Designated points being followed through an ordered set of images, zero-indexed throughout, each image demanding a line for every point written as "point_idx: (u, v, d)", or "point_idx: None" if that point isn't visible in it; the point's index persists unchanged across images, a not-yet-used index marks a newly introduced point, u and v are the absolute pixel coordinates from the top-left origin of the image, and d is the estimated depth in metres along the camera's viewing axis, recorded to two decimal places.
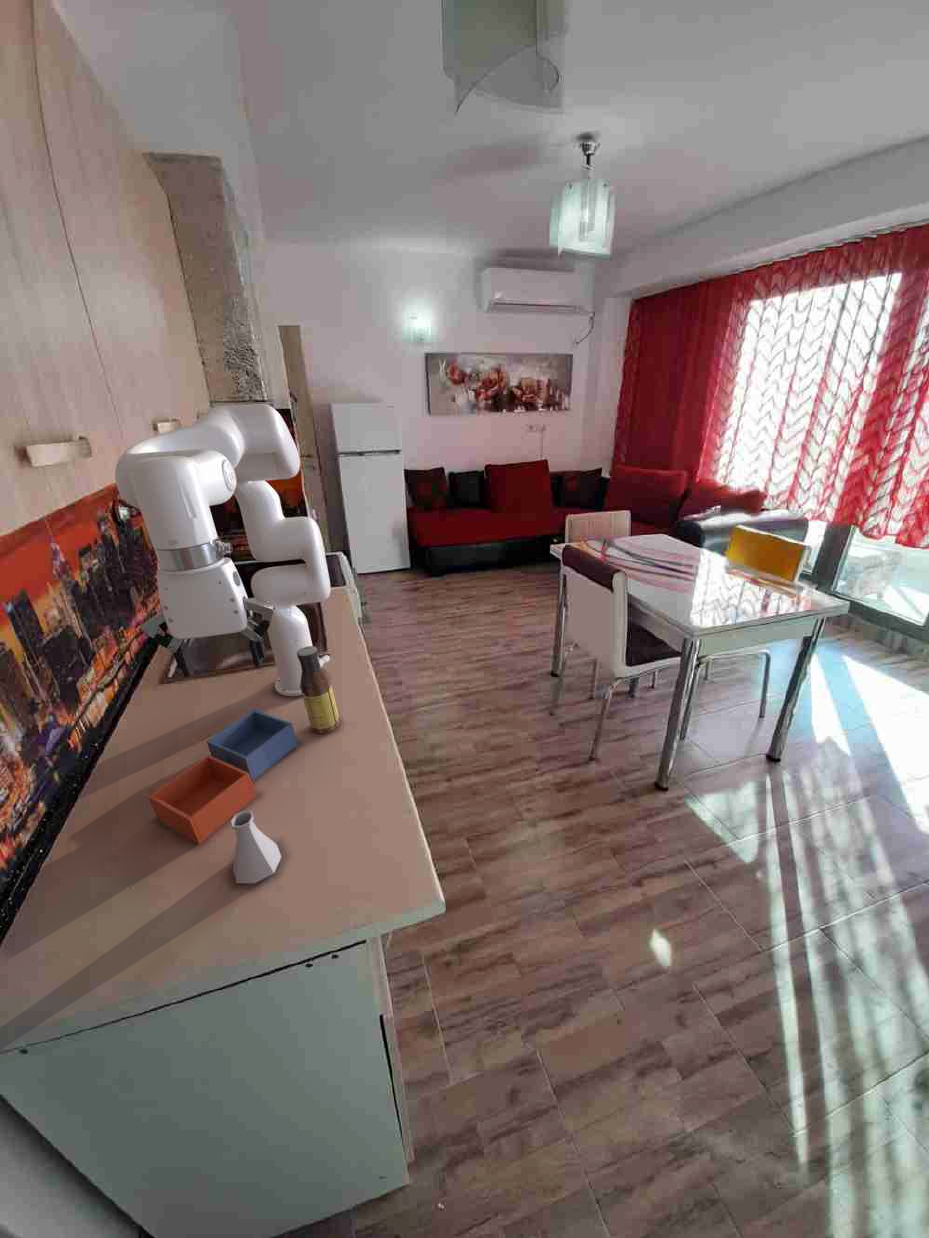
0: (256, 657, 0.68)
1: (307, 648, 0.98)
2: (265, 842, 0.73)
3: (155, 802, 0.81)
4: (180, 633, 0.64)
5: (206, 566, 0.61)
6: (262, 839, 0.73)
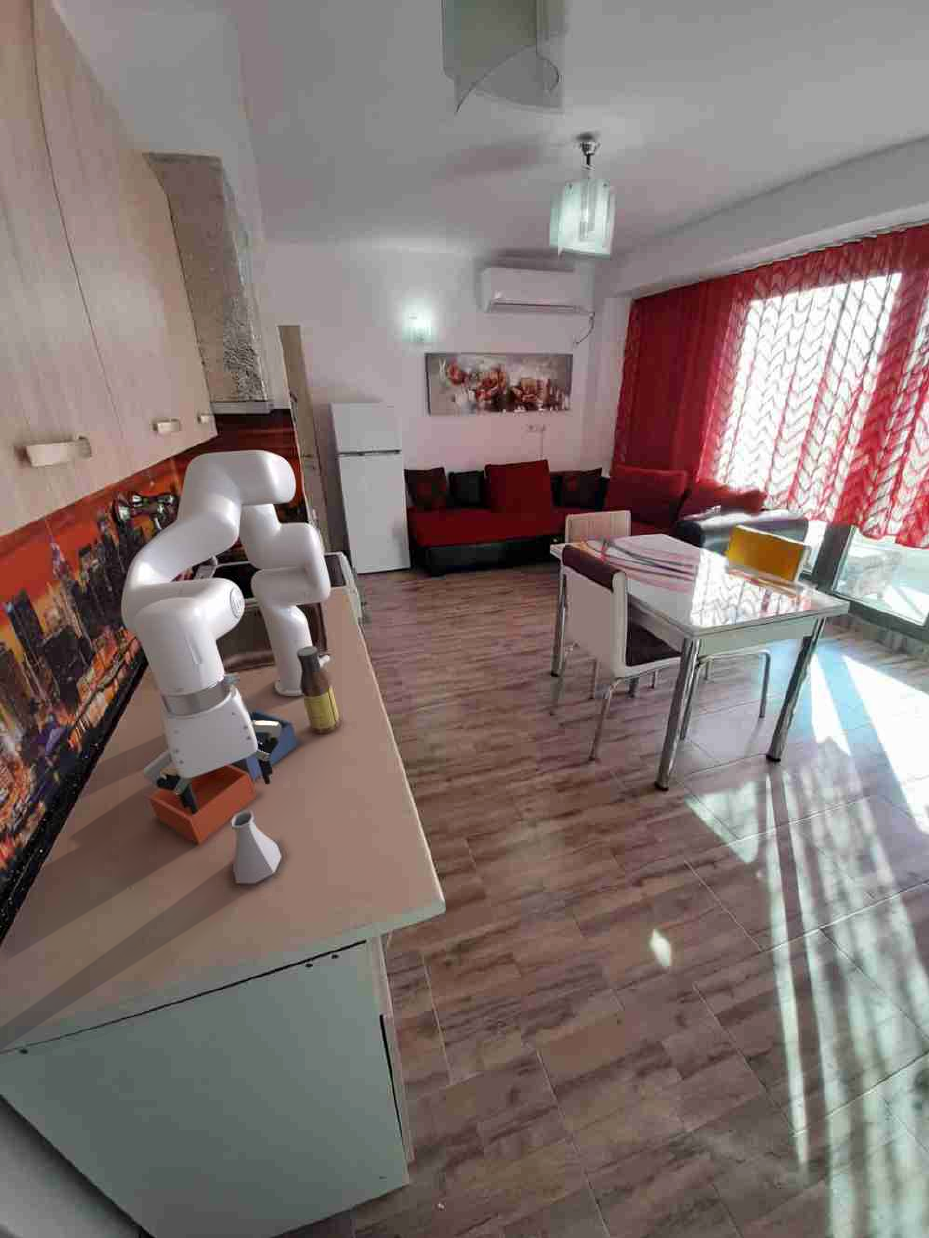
0: (267, 775, 0.68)
1: (307, 648, 0.98)
2: (265, 842, 0.73)
3: (155, 802, 0.81)
4: (190, 772, 0.62)
5: (222, 701, 0.60)
6: (262, 839, 0.73)
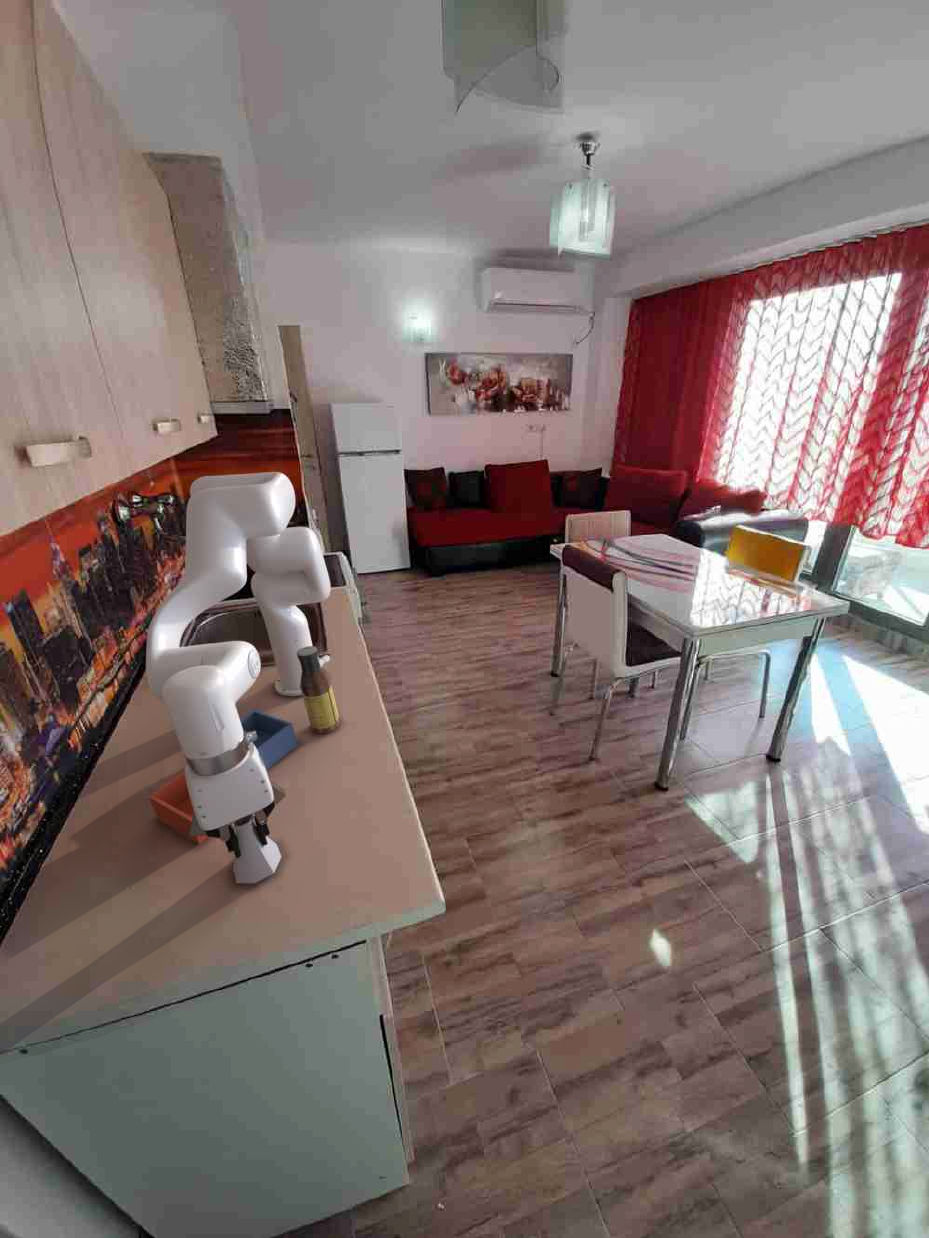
0: (264, 837, 0.72)
1: (307, 648, 0.98)
2: None
3: (155, 802, 0.81)
4: (212, 825, 0.66)
5: (241, 761, 0.65)
6: None
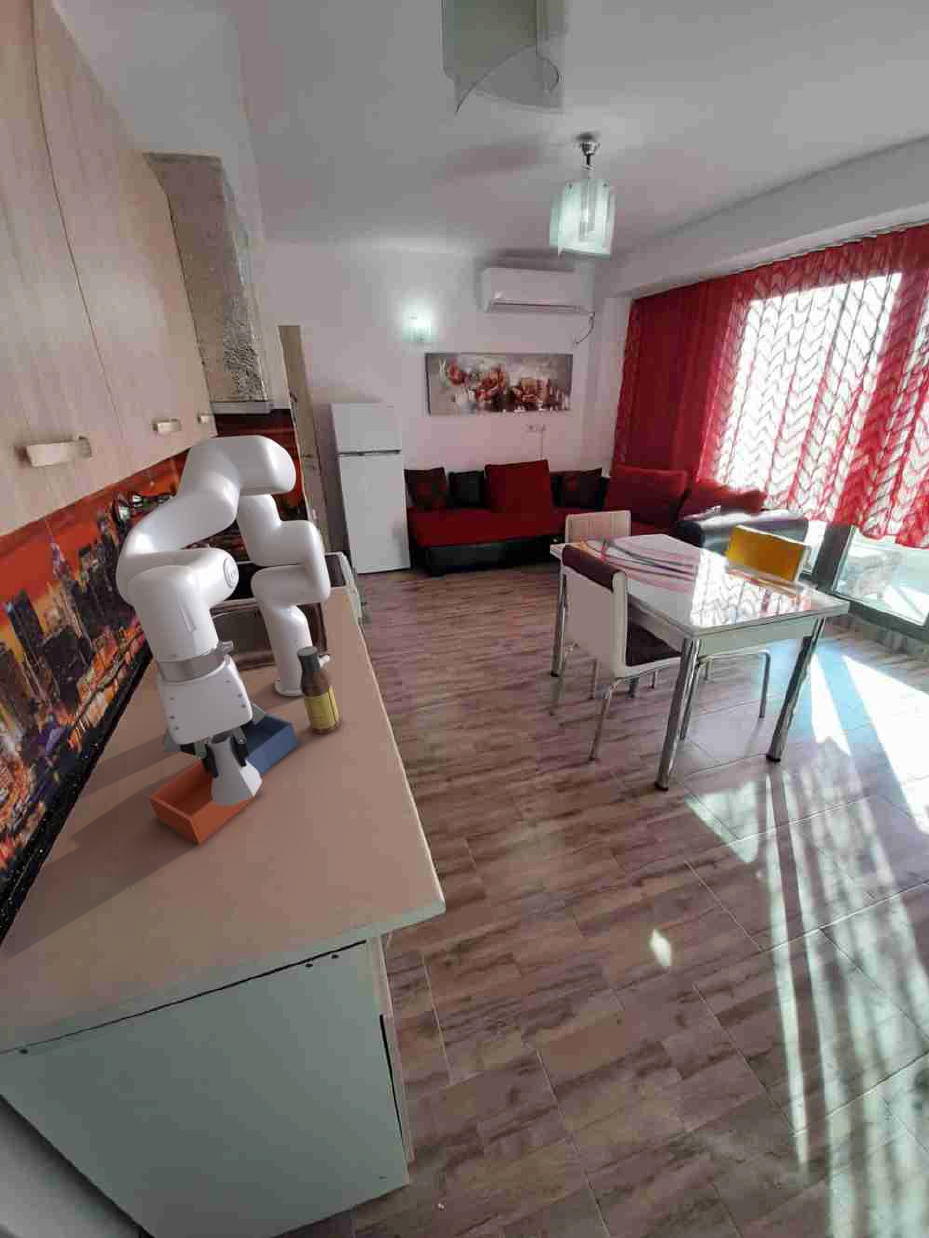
0: (243, 758, 0.69)
1: (307, 648, 0.98)
2: None
3: (155, 802, 0.81)
4: (186, 739, 0.63)
5: (216, 669, 0.61)
6: None
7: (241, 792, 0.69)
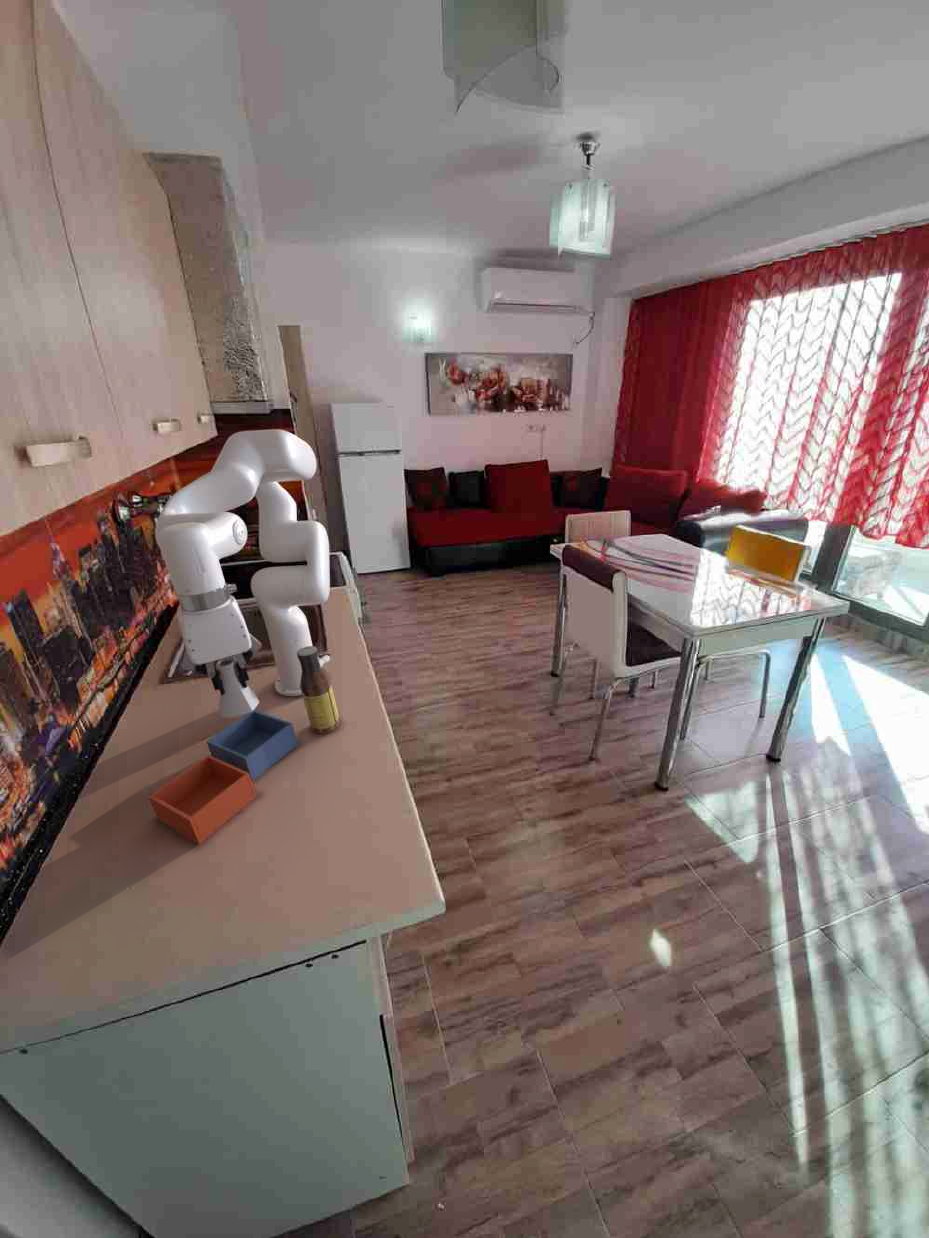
0: (244, 680, 0.87)
1: (307, 648, 0.98)
2: None
3: (155, 802, 0.81)
4: (200, 659, 0.81)
5: (223, 604, 0.79)
6: None
7: (242, 707, 0.87)
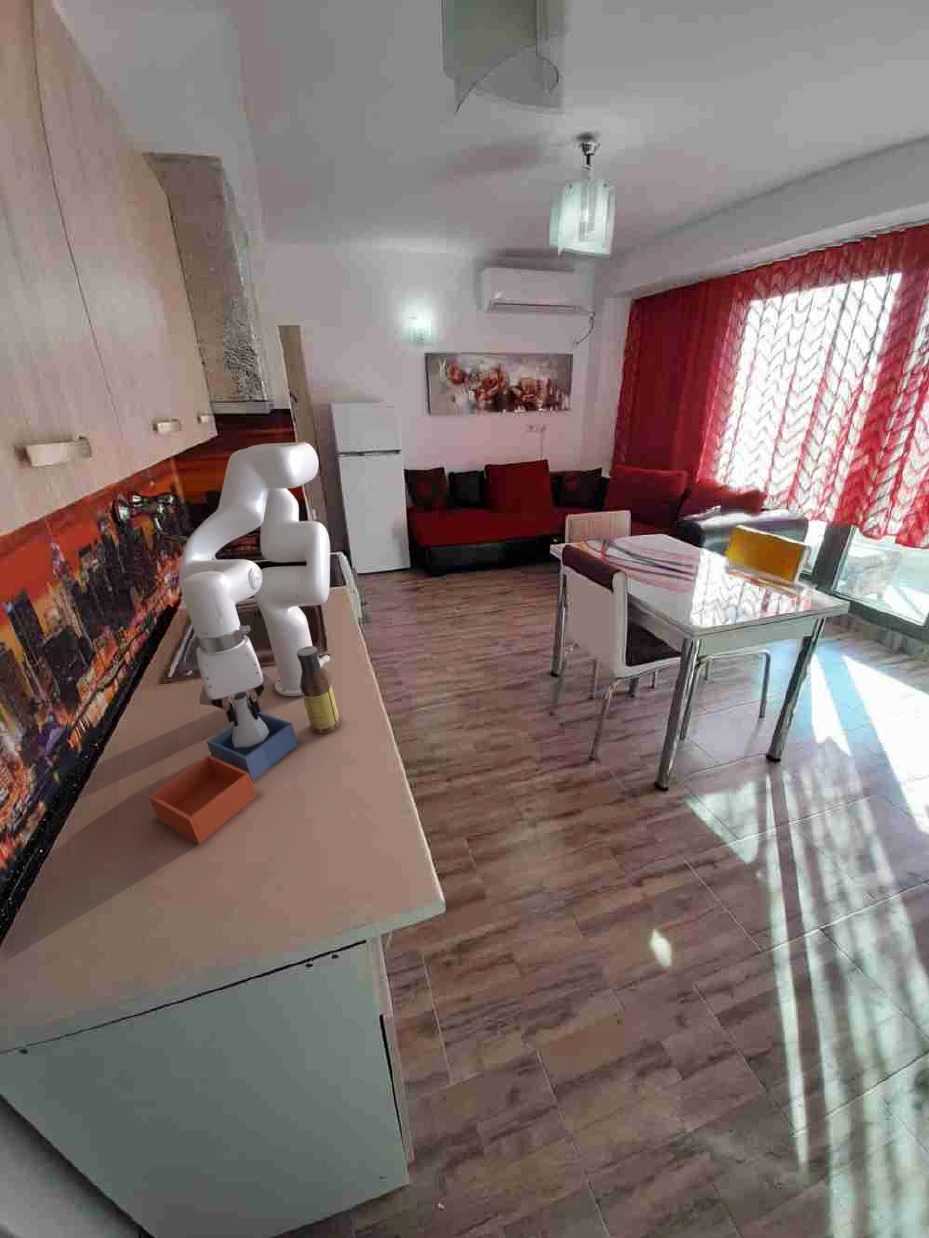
0: (256, 712, 0.94)
1: (307, 648, 0.98)
2: None
3: (155, 802, 0.81)
4: (216, 695, 0.88)
5: (238, 644, 0.87)
6: None
7: (254, 737, 0.94)
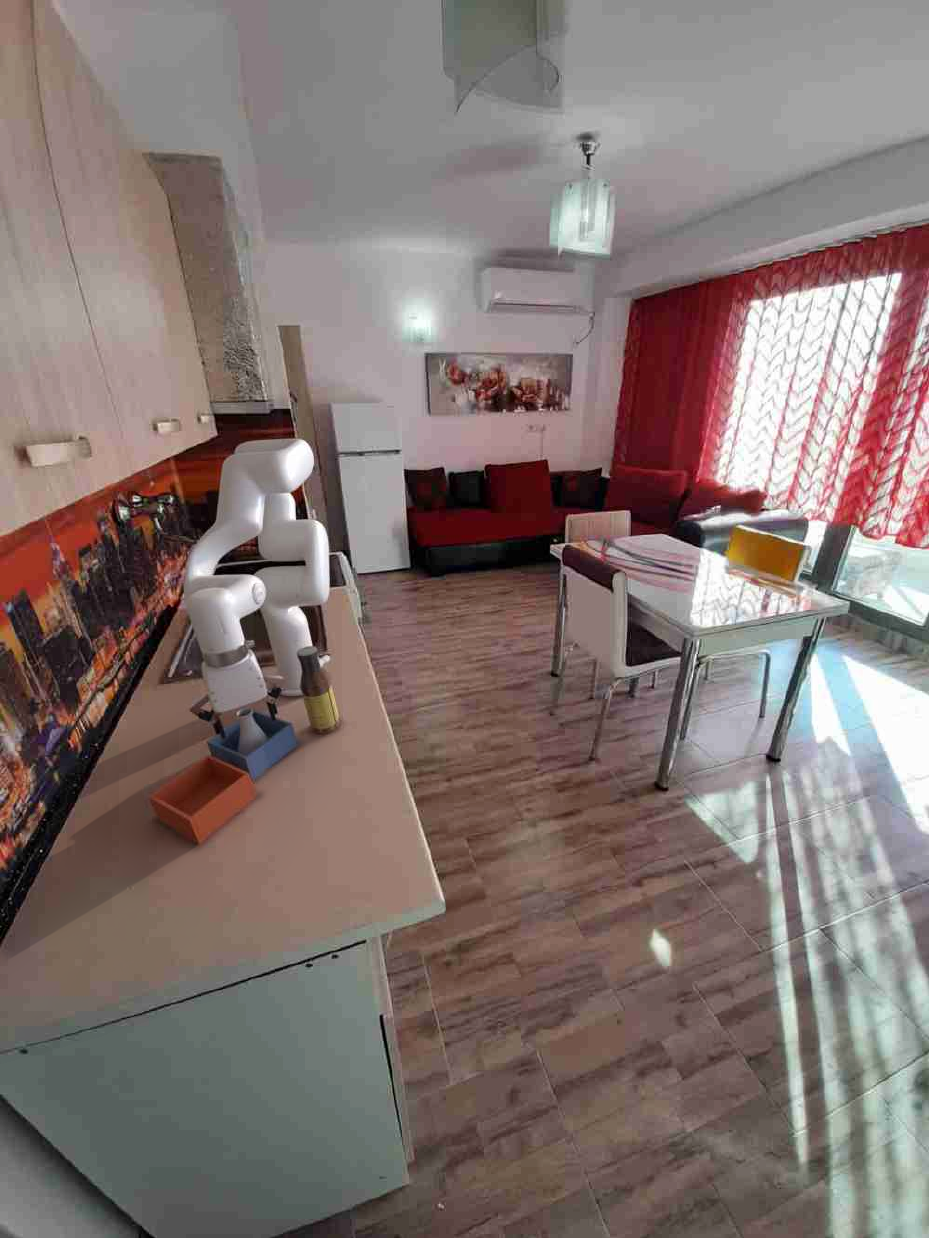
0: (274, 714, 0.96)
1: (307, 648, 0.98)
2: (261, 733, 0.97)
3: (155, 802, 0.81)
4: (221, 708, 0.90)
5: (243, 659, 0.88)
6: (259, 730, 0.97)
7: None
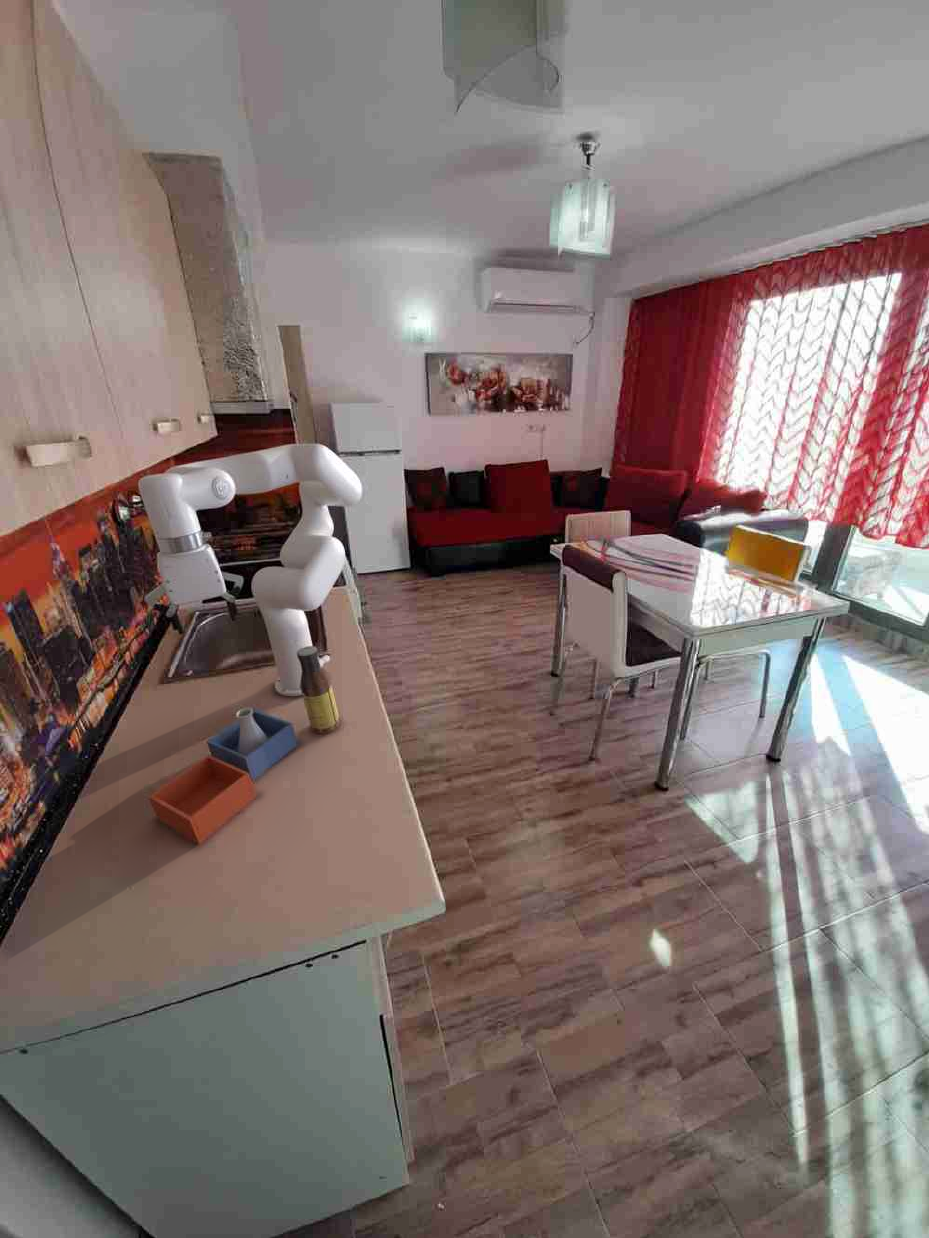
0: (233, 614, 0.96)
1: (307, 648, 0.98)
2: (261, 733, 0.97)
3: (155, 802, 0.81)
4: (177, 600, 0.89)
5: (198, 548, 0.87)
6: (259, 730, 0.97)
7: None
